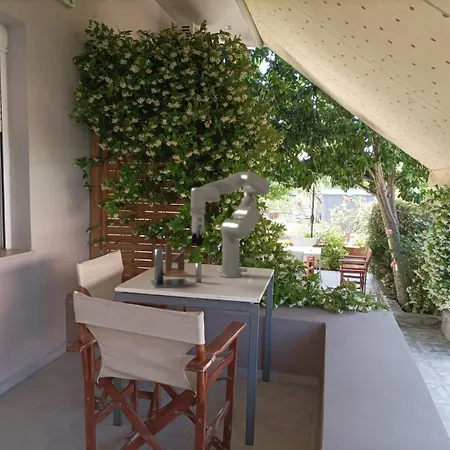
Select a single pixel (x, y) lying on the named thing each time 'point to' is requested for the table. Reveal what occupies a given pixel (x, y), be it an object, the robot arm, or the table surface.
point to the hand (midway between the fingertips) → (197, 244)
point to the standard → (167, 274)
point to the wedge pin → (198, 272)
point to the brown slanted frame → (178, 259)
